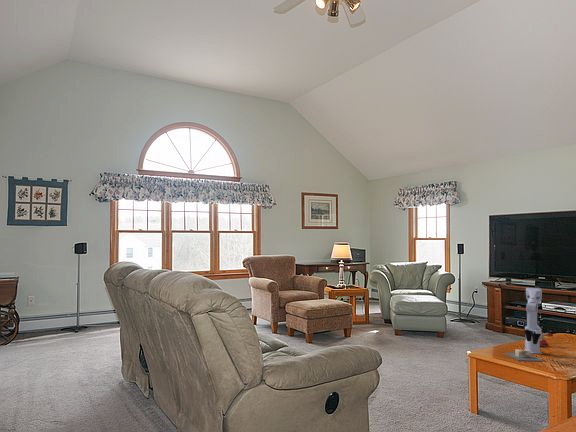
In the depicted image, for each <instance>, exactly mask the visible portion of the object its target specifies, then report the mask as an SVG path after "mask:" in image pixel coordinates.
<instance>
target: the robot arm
mask: <svg viewBox="0 0 576 432" xmlns="http://www.w3.org/2000/svg"><path fill="white" fill-rule="evenodd" d="M542 297H543V290H542V288H541V287H540V288H536V287H525V298H526V300H527V303H526V306H525V308H526V309H525V310H526V325H524V329H523V333H524V335H525V337H524V338H526V339H525V340H524V349H523V350H529V351H531V354H538V355H539V354H541V355H542V354H543V352H541V351H540V347H539V341H541V340H542V335H543V333H542V332H543V331H542V328H541V327H540V326H539V325H538V312H539V311H538V310H539V302H542V300H543V298H542Z"/></svg>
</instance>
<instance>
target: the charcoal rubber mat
mask: <svg viewBox="0 0 576 432" xmlns="http://www.w3.org/2000/svg"><path fill="white" fill-rule="evenodd" d="M504 355H506V356H508V357H510V358H511V357H512V358H511V359H513V358H514V360H515V359H516V361H517V360H518V361H517V362H544V360H543V359H541V358H538V357H536V356H534V355H533V354H531V358H526V357H517V356H515V352H504Z"/></svg>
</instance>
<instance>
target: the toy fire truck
mask: <svg viewBox="0 0 576 432" xmlns="http://www.w3.org/2000/svg"><path fill="white" fill-rule="evenodd" d="M545 336H547V337H554V333H550V332H546V333H544V334H543V333H542V339H541V340H539V348H540V347H543V348H544V347H545V348H546V347H549V343H548V341H547V340H546V338H545Z"/></svg>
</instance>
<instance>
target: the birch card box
mask: <svg viewBox="0 0 576 432" xmlns="http://www.w3.org/2000/svg"><path fill="white" fill-rule="evenodd" d="M514 350H515V351H514V353H515V356H517V357H526V358H531V355H532V353H531V351H529V350H524V349H518V348H517V349H514Z"/></svg>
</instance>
